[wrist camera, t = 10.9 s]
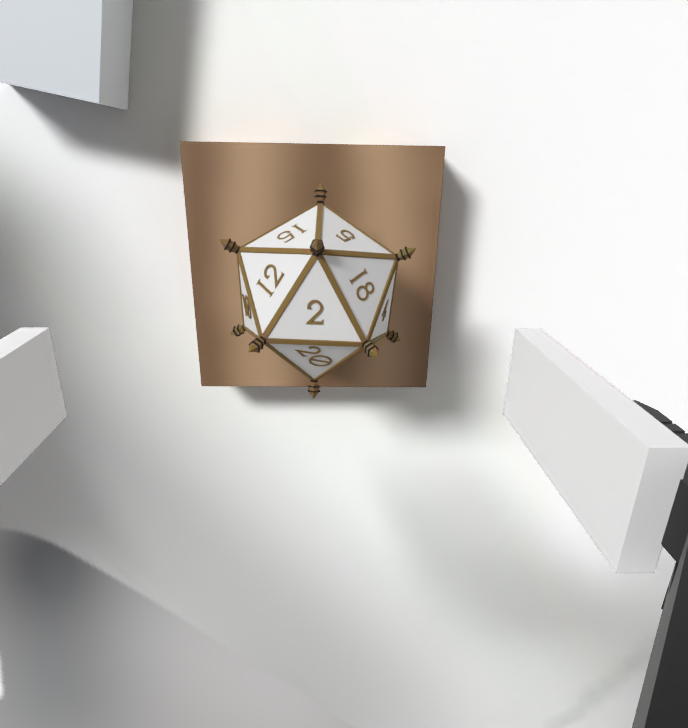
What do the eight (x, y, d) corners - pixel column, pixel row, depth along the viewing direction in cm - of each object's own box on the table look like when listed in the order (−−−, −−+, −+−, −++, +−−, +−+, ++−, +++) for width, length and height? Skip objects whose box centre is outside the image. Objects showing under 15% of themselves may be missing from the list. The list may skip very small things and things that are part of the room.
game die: (352, 268, 32) (463, 366, 26) (231, 342, 30) (318, 466, 24) (315, 127, 25) (455, 216, 19) (155, 213, 23) (250, 342, 17)
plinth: (212, 366, 33) (201, 386, 30) (194, 143, 28) (179, 141, 26) (417, 367, 34) (425, 387, 31) (433, 147, 29) (445, 146, 26)
